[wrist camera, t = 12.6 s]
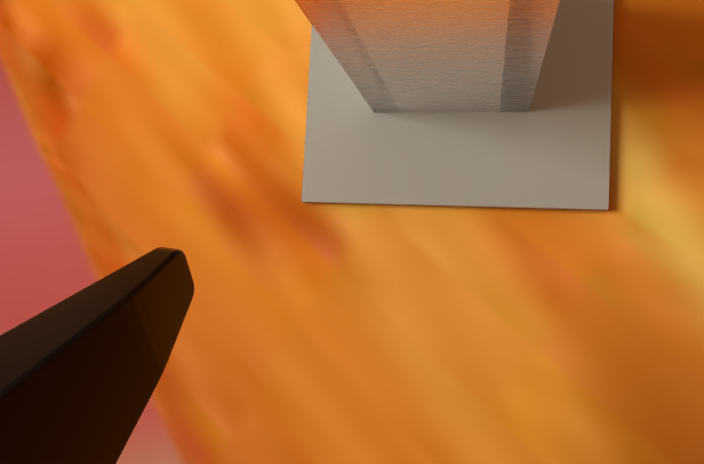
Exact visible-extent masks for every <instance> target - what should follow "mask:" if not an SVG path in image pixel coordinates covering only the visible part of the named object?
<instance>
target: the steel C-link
mask: <svg viewBox="0 0 704 464" xmlns="http://www.w3.org/2000/svg"><path fill="white" fill-rule="evenodd" d="M295 1H296V3H297V4H298V6H299V7H300V8H301V10H302V11H303V13H304V14H305V15H306V17H307V18H308V20H309V21H310V22H311V24H312V25H313V27H314V28H315V30H316V31H317V32H318V34H319V35H320V37H321V38H322V39H323V41H324V42H325V44H326V45H327V47H328V48H329V49H330V51H331V52H332V54H333V55H334V56H335V58H336V59H337V61H338V62H339V64H340V65H341V66H342V68H343V69H344V71H345V72H346V73H347V75H348V76H349V78H350V79H351V81H352V82H353V83H354V85H355V86H356V88H357V89H358V90H359V92H360V93H361V95H362V96H363V98H364V99H365V100H366V102H367V103H368V105H369V106H370V107H371V109H372V110H373V112H374V113H394V112H529V108H530V105H531V101H532V98H533V94H534V91H535V87H536V83H537V80H538V76H539V73H540V69H541V66H542V62H543V58H544V55H545V51H546V48H547V44H548V41H549V37H550V34H551V30H552V26H553V23H554V19H555V16H556V12H557V9H558V5H559V1H560V0H295Z"/></svg>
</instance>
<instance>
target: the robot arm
mask: <svg viewBox="0 0 704 464" xmlns="http://www.w3.org/2000/svg"><path fill="white" fill-rule="evenodd" d="M193 294H194V282H193V279H192V276H191V272H190V269H189V266H188V263H187V259H186V256H185V254H184V253H183V252H182V251H181V250H179V249H172V248H165V247H159V248H156V249H154V250H152V251H151V252H149V253H147V254H145V255H143V256H142V257H140V258H138V259H136V260H134V261H133V262H131V263H129V264H127V265H126V266H124V267H122V268H120V269H118V270H117V271H115V272H113V273H111V274H109V275H108V276H106V277H104V278H102V279H100V280H99V281H97V282H95V283H93V284H91V285H90V286H88V287H86V288H84V289H82V290H81V291H79V292H77V293H75V294H74V295H72V296H70V297H69V298H66V299H65V300H63V301H61V302H59V303H57V304H56V305H54V306H52V307H50V308H48V309H47V310H45V311H43V312H41V313H39V314H38V315H36V316H34V317H32V318H31V319H29V320H27V321H25V322H23V323H21V324H20V325H18V326H16V327H14V328H13V329H11V330H9V331H7V332H5V333H4V334H2V335H0V464H116V462H117V460H118V458H119V456H120V455H121V453H122V451H123V449H124V447H125V445H126V443H127V441H128V439H129V437H130V435H131V433H132V431H133V429H134V428H135V426H136V424H137V422H138V420H139V418H140V416H141V414H142V412H143V410H144V409H145V407H146V405H147V403H148V401H149V399H150V397H151V395H152V393H153V391H154V389H155V387H156V386H157V384H158V382H159V380H160V377H161V375H162V373H163V371H164V369H165V367H166V364H167V362H168V359H169V357H170V354H171V352H172V349H173V347H174V344H175V342H176V339H177V336H178V334H179V331H180V329H181V326H182V324H183V321H184V319H185V316H186V313H187V311H188V308H189V306H190V303H191V301H192V298H193Z"/></svg>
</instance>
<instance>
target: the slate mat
mask: <svg viewBox="0 0 704 464" xmlns="http://www.w3.org/2000/svg"><path fill="white" fill-rule="evenodd" d="M613 21H614V0H560V1H559V5H558V9H557V12H556V16H555V19H554V23H553V26H552V30H551V34H550V37H549V41H548V44H547V48H546V51H545V55H544V58H543V62H542V66H541V69H540V73H539V76H538V80H537V83H536V87H535V91H534V94H533V98H532V101H531V105H530V108H529V112H394V113H374V112H373V110H372V109H371V107H370V106H369V105H368V103H367V102H366V100H365V99H364V98H363V96H362V95H361V93H360V92H359V90H358V89H357V88H356V86H355V85H354V83H353V82H352V81H351V79H350V78H349V76H348V75H347V73H346V72H345V71H344V69H343V68H342V66H341V65H340V64H339V62H338V61H337V59H336V58H335V56H334V55H333V54H332V52H331V51H330V49H329V48H328V47H327V45H326V44H325V42H324V41H323V39H322V38H321V37H320V35H319V34H318V32H317V31H316V30H315V28H314V27H313V25H312V34H311V51H310V68H309V85H308V102H307V120H306V137H305V154H304V171H303V188H302V202H304V203H333V204H371V205H409V206H447V207H485V208H523V209H561V210H599V211H606V210H608V209H609V171H610V134H611V96H612V59H613Z"/></svg>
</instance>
